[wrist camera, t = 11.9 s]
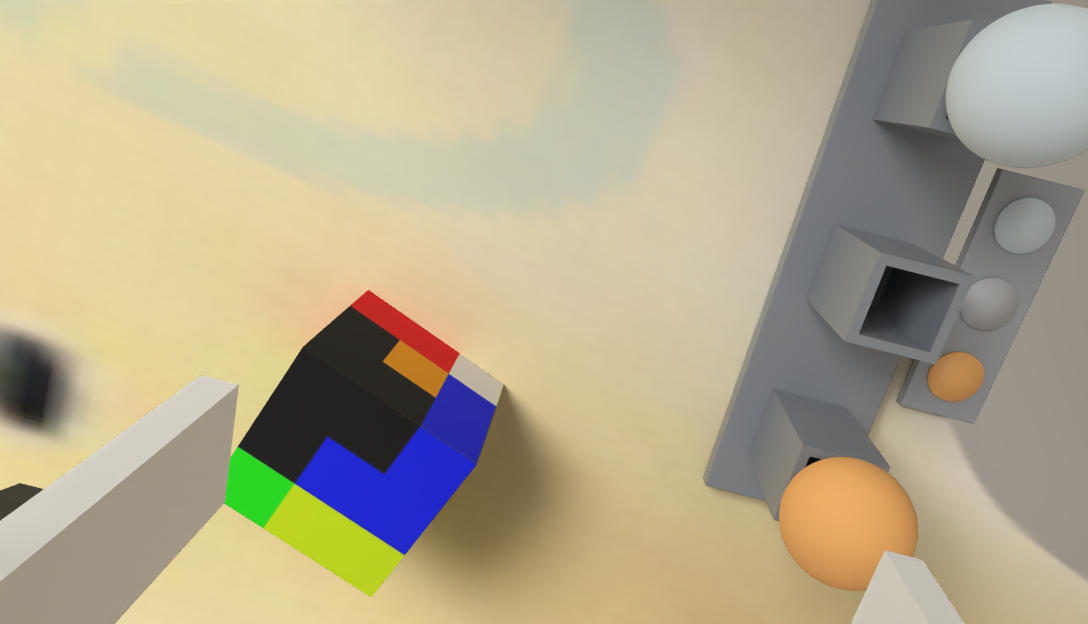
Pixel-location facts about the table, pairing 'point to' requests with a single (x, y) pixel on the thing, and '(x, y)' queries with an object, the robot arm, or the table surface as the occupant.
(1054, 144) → the light gray ball
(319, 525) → the puzzle toy
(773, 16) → the table surface
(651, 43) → the table surface
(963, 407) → the card
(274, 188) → the table surface
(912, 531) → the orange ball
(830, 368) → the ball display stand
